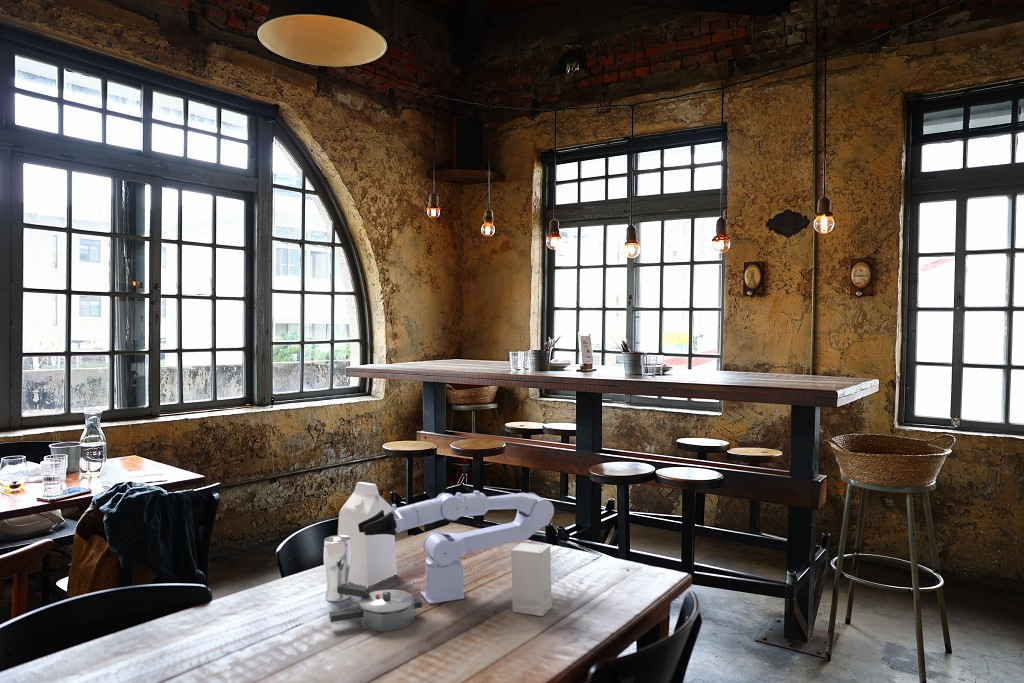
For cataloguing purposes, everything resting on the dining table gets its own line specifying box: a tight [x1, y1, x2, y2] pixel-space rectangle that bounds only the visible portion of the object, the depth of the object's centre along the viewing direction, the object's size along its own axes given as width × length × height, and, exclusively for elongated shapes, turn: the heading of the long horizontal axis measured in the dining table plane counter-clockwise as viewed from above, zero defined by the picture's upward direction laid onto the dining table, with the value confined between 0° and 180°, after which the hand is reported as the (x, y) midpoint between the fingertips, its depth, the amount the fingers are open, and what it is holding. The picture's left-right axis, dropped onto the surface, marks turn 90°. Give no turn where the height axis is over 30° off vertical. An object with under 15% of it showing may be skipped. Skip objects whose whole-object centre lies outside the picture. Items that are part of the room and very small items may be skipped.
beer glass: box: [323, 534, 352, 603], centre depth 181 cm, size 7×7×15 cm
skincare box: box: [510, 542, 553, 617], centre depth 174 cm, size 8×7×16 cm
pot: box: [328, 597, 423, 633], centre depth 166 cm, size 21×12×4 cm, turn 114°
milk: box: [337, 481, 398, 588], centre depth 196 cm, size 12×12×26 cm
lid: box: [337, 583, 414, 613], centre depth 168 cm, size 19×12×2 cm, turn 69°
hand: (361, 529), depth 174 cm, fingers open, 7 cm apart
